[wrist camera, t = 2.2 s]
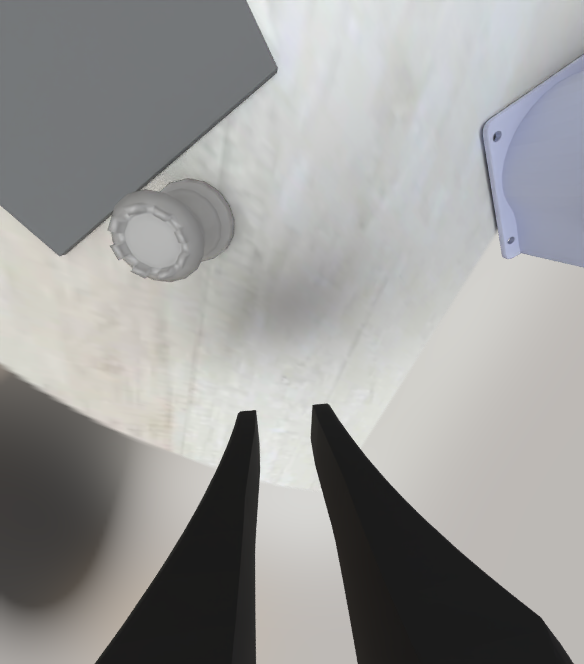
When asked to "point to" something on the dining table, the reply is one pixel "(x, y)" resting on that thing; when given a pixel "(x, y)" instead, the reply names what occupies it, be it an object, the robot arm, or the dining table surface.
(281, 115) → the dining table surface
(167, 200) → the rook chess piece
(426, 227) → the dining table surface
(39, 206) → the mat
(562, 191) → the robot arm
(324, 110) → the dining table surface
